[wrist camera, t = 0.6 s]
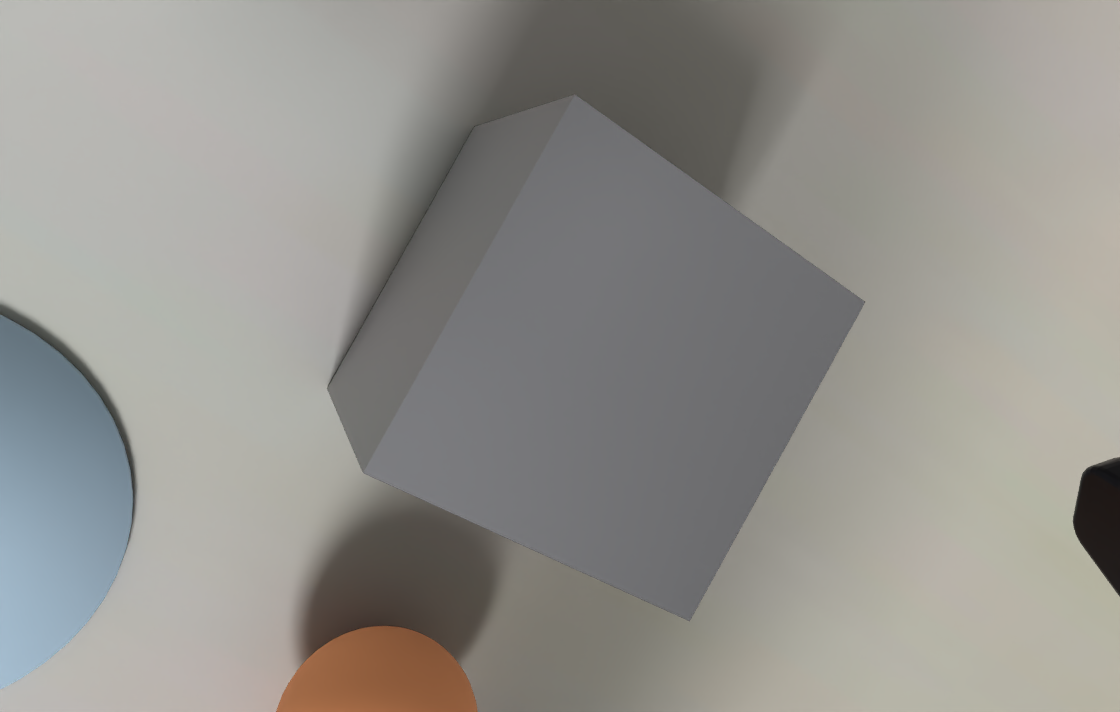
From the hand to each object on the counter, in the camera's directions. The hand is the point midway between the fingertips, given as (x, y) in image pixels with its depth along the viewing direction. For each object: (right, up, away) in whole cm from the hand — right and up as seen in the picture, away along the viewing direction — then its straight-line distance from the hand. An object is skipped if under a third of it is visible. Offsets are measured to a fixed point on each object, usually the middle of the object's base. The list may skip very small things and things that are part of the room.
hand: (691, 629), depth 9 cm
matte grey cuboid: (-2, +4, +15) cm, 15 cm away
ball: (-6, -7, +12) cm, 15 cm away
